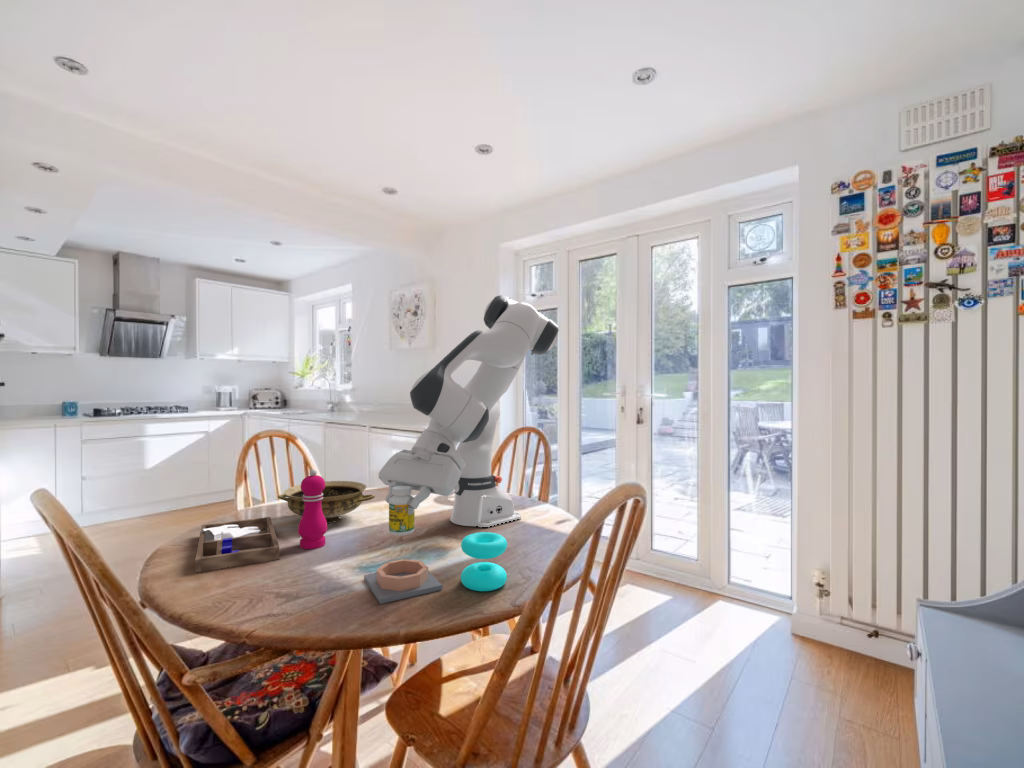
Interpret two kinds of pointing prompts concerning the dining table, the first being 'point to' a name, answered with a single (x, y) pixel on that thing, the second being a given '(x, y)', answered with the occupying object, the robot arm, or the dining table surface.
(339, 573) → the dining table surface
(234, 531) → the white tapered wedge pair
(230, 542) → the cable holder
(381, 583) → the collar holder
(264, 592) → the dining table surface
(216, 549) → the walnut compartment tray
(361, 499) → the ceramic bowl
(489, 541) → the donuts
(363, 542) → the dining table surface
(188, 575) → the dining table surface
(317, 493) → the pepper mill
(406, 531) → the supplement bottle
